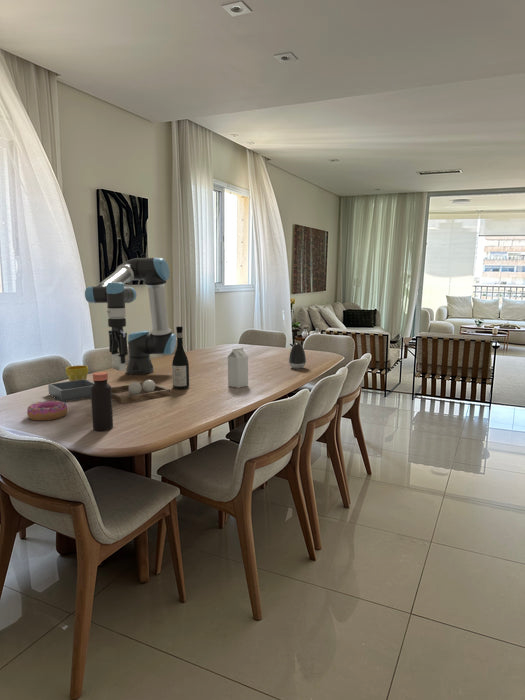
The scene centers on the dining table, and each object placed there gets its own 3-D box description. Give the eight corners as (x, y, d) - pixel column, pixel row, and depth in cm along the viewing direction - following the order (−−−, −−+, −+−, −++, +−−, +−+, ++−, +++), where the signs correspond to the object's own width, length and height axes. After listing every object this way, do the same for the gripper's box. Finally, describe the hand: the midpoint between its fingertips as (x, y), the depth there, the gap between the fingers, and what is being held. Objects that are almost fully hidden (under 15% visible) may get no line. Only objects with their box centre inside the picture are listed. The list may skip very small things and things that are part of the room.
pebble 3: (151, 390, 227) (151, 377, 226) (158, 392, 222) (157, 379, 221) (140, 392, 223) (139, 379, 222) (146, 394, 218) (145, 381, 217)
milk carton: (228, 386, 235) (227, 348, 232) (238, 383, 240) (237, 346, 237) (237, 388, 230) (237, 349, 227) (248, 386, 235) (248, 348, 232)
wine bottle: (185, 389, 227) (184, 327, 223) (170, 389, 229) (168, 327, 224) (191, 386, 235) (190, 326, 231) (176, 385, 237) (174, 325, 232)
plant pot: (62, 387, 232) (61, 367, 231) (79, 383, 242) (78, 364, 240) (77, 389, 228) (75, 369, 226) (93, 385, 237) (92, 366, 235)
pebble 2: (138, 392, 222) (137, 379, 221) (144, 394, 217) (143, 382, 217) (126, 394, 218) (125, 381, 217) (132, 396, 214) (131, 383, 213)
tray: (147, 386, 234) (147, 381, 233) (170, 394, 217) (169, 389, 217) (100, 394, 218) (100, 389, 218) (121, 403, 202) (121, 398, 202)
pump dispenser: (294, 365, 289) (294, 341, 287) (309, 367, 283) (309, 342, 281) (285, 368, 281) (285, 343, 279) (300, 370, 275) (300, 344, 273)
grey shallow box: (85, 389, 229) (85, 379, 228) (99, 395, 216) (99, 384, 215) (48, 394, 218) (48, 384, 217) (61, 401, 205) (60, 390, 204)
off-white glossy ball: (122, 368, 216) (122, 355, 215) (128, 370, 211) (128, 357, 210) (110, 370, 212) (109, 356, 211) (115, 372, 207) (115, 358, 206)
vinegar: (96, 425, 172) (93, 371, 169) (115, 425, 172) (112, 371, 169) (90, 431, 165) (87, 375, 162) (110, 431, 165) (107, 375, 162)
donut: (71, 418, 182) (70, 405, 181) (30, 424, 174) (29, 411, 173) (64, 409, 194) (63, 397, 193) (25, 415, 186) (24, 402, 185)
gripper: (99, 316, 212) (102, 367, 216) (118, 319, 198) (120, 373, 202) (115, 316, 217) (118, 365, 221) (134, 318, 203) (136, 371, 207)
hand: (119, 369), depth 211 cm, fingers closed on off-white glossy ball, 6 cm apart
